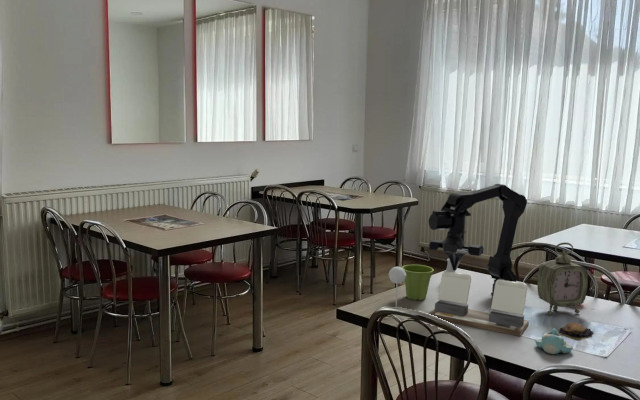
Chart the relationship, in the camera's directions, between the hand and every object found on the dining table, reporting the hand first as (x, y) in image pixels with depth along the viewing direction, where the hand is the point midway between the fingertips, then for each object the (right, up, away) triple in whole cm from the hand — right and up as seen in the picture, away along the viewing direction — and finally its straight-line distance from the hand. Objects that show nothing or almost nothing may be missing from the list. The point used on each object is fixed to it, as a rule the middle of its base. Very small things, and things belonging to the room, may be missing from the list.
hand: (454, 270), depth 211 cm
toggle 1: (-4, -10, -14) cm, 17 cm away
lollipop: (-22, -13, -6) cm, 26 cm away
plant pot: (-13, -11, +7) cm, 18 cm away
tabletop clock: (+35, -14, -7) cm, 38 cm away
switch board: (+4, -15, -18) cm, 23 cm away
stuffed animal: (+20, -19, -40) cm, 49 cm away
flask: (+4, -9, +26) cm, 28 cm away
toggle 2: (+11, -11, -23) cm, 28 cm away
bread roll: (+32, -17, -27) cm, 45 cm away
